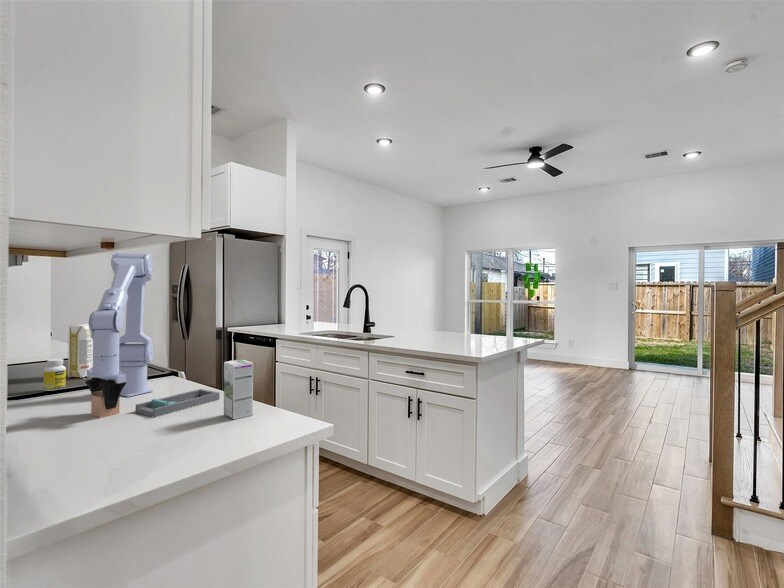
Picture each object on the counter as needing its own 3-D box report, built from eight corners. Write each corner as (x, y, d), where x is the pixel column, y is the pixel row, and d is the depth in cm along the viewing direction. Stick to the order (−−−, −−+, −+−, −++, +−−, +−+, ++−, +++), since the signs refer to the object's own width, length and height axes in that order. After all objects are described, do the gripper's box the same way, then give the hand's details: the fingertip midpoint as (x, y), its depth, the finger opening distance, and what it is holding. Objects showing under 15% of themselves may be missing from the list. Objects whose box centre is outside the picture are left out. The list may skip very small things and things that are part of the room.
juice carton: (103, 374, 151) (104, 324, 151) (81, 379, 143) (82, 326, 143) (86, 373, 153) (87, 323, 152) (64, 378, 144) (64, 325, 144)
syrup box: (253, 415, 108) (254, 361, 108) (232, 420, 104) (233, 364, 104) (243, 410, 112) (244, 358, 112) (222, 415, 108) (223, 361, 107)
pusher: (151, 408, 111) (151, 399, 111) (168, 403, 116) (168, 395, 116) (164, 411, 109) (164, 402, 109) (181, 407, 113) (182, 398, 113)
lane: (135, 411, 109) (135, 404, 109) (200, 395, 127) (200, 388, 126) (155, 417, 105) (155, 409, 105) (219, 399, 123) (219, 392, 123)
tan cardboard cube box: (91, 415, 105) (91, 392, 105) (109, 410, 109) (110, 388, 109) (100, 417, 103) (101, 394, 103) (119, 413, 107) (119, 390, 107)
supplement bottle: (55, 392, 125) (56, 361, 125) (38, 392, 125) (39, 361, 125) (70, 388, 131) (70, 358, 131) (53, 388, 131) (53, 358, 131)
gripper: (73, 354, 106) (73, 406, 106) (105, 360, 99) (104, 415, 100) (103, 351, 112) (102, 400, 112) (134, 356, 106) (133, 408, 106)
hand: (105, 406), depth 106 cm, fingers closed on tan cardboard cube box, 4 cm apart
